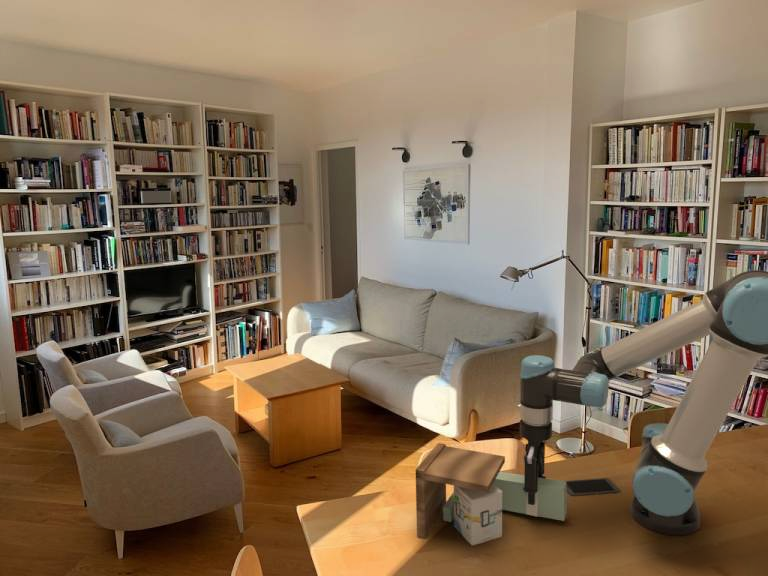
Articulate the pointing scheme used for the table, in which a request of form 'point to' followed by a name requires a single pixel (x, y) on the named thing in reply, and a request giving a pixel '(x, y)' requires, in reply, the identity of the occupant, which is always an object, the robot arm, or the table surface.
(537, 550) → the table surface
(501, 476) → the sage green box
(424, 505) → the shelf
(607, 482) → the cell phone
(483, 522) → the ink box
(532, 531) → the table surface
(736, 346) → the robot arm
